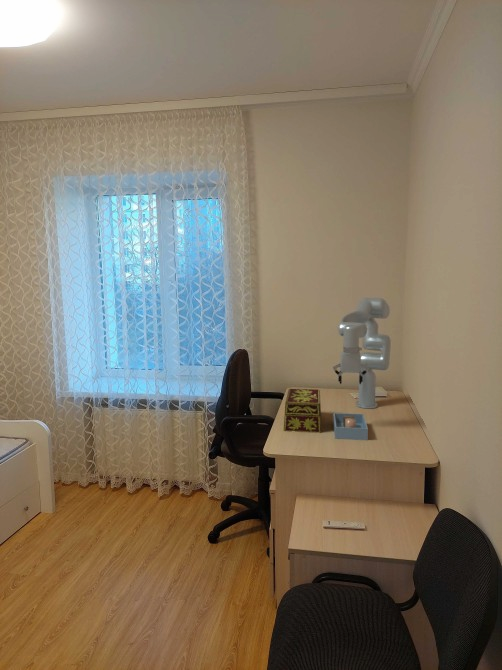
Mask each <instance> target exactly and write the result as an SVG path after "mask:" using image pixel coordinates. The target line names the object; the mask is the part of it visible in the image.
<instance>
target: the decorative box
mask: <svg viewBox="0 0 502 670" xmlns="http://www.w3.org/2000/svg"><path fill="white" fill-rule="evenodd" d="M284 406H285V407H284V415H283V416H284V418H283V419H284V420H283V432H292V431H295V432H298V433H315V434H316V433H318V434H321V433H322V411H321V410H322V409H321V408H322V407H321V406H322V405H321V390H320V389H312V388H288V391H287V394H286V399H285V403H284Z"/></svg>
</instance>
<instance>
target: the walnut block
mask: <svg viewBox="0 0 502 670" xmlns="http://www.w3.org/2000/svg"><path fill="white" fill-rule="evenodd" d="M346 418H354V416H343V426H344V427H345V419H346Z"/></svg>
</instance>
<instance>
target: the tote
mask: <svg viewBox="0 0 502 670" xmlns="http://www.w3.org/2000/svg"><path fill="white" fill-rule="evenodd" d="M332 415H333V419H332V424H333V432H334V439H337V440H355V441H357V440H360V441H368V438H369V435H368V433H369V428H368V424H367V422H366V419H365V415H364V414H363V413H344V412H343V413H342V412H333V414H332ZM343 416H354V419H356V428H347V427H344V426H343Z"/></svg>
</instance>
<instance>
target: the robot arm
mask: <svg viewBox="0 0 502 670" xmlns="http://www.w3.org/2000/svg"><path fill="white" fill-rule="evenodd" d="M390 310H391V309H390V306H389V304H388V302H387V300H385V299H384V298H381V297H363V298H361V299H360V300H359V302H358V304H357V306H356V308H355V310H353V311H351V312H349V313H347V314H345V315H343V317H342V318H341V319H340V321H339V324H338V328H337V333H338V334H339V336H340V337H343V339H342V341H343V345H342V351H341V354H340V361H339V363H337V364H336V365H334V366H333V367H332V370H334V372H335V374H336V375H337V376H338V379H337V380H338V382H339V384H340V385H341V384H342V378H343V377H342V374H343V373H344V374H346V373H347V374H348V373H349V374H351V373H353V374H354V373H355V374H358V400H357V401H356V402H355V406H356V407H358V408H362V409H376V408H377V407H379V406H378V405H379V404H378V403H377V402H376V387H377V386H376V385H377V376H376V374H375V372H374V371H375V370H376V371H377V370H378V371H387V370H388V369H389V367H390V359H391V358H390V357H391V337H390V336H389V335H387V334H384V333H381V334H380V333H379V324H378V323H377V320H376V319H388V318H389V316H390V312H391V311H390ZM360 339H361V345H362V347H360ZM363 349H364V350H367V351H375V352H367V351H366V352H365V351H363ZM360 351H363V352H360ZM376 351H377V352H376ZM380 352H381V353H380ZM338 368H339V369H340V370H338Z"/></svg>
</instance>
